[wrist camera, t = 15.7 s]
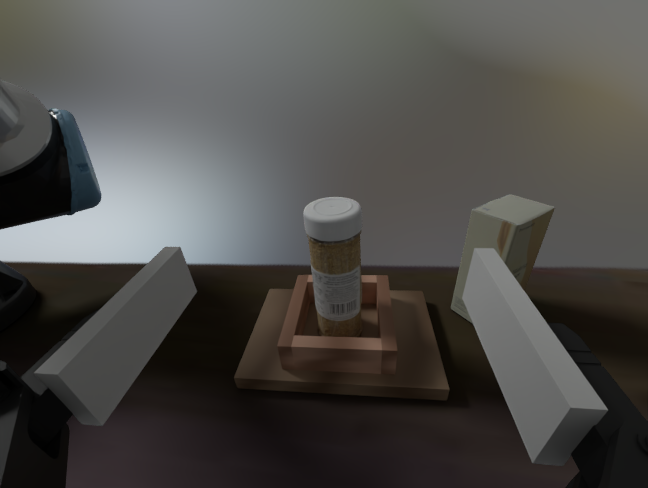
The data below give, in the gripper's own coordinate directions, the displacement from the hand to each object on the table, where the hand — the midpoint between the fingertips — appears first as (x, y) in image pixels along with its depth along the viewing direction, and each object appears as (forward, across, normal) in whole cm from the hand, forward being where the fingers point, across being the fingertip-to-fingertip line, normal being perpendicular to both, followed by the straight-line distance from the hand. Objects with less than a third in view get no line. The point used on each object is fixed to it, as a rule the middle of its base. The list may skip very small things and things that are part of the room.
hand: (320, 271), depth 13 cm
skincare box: (+15, +16, -16) cm, 27 cm away
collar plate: (+10, 0, -16) cm, 19 cm away
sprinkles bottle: (+10, 0, -15) cm, 18 cm away
